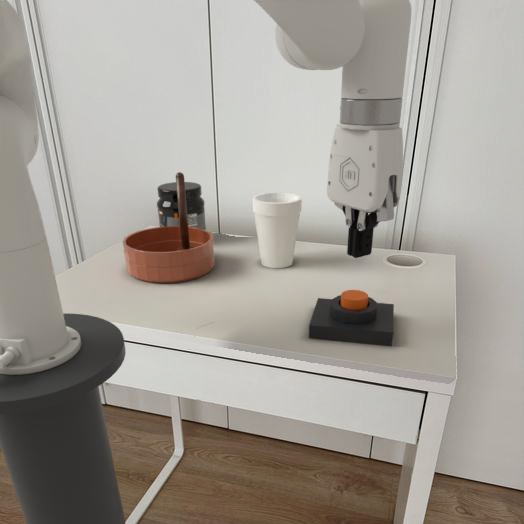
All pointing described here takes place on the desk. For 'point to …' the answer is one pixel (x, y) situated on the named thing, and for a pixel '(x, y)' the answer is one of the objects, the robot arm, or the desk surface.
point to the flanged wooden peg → (182, 212)
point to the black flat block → (352, 322)
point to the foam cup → (277, 226)
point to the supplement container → (170, 205)
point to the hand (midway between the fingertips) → (359, 254)
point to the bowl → (168, 254)
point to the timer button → (354, 299)
